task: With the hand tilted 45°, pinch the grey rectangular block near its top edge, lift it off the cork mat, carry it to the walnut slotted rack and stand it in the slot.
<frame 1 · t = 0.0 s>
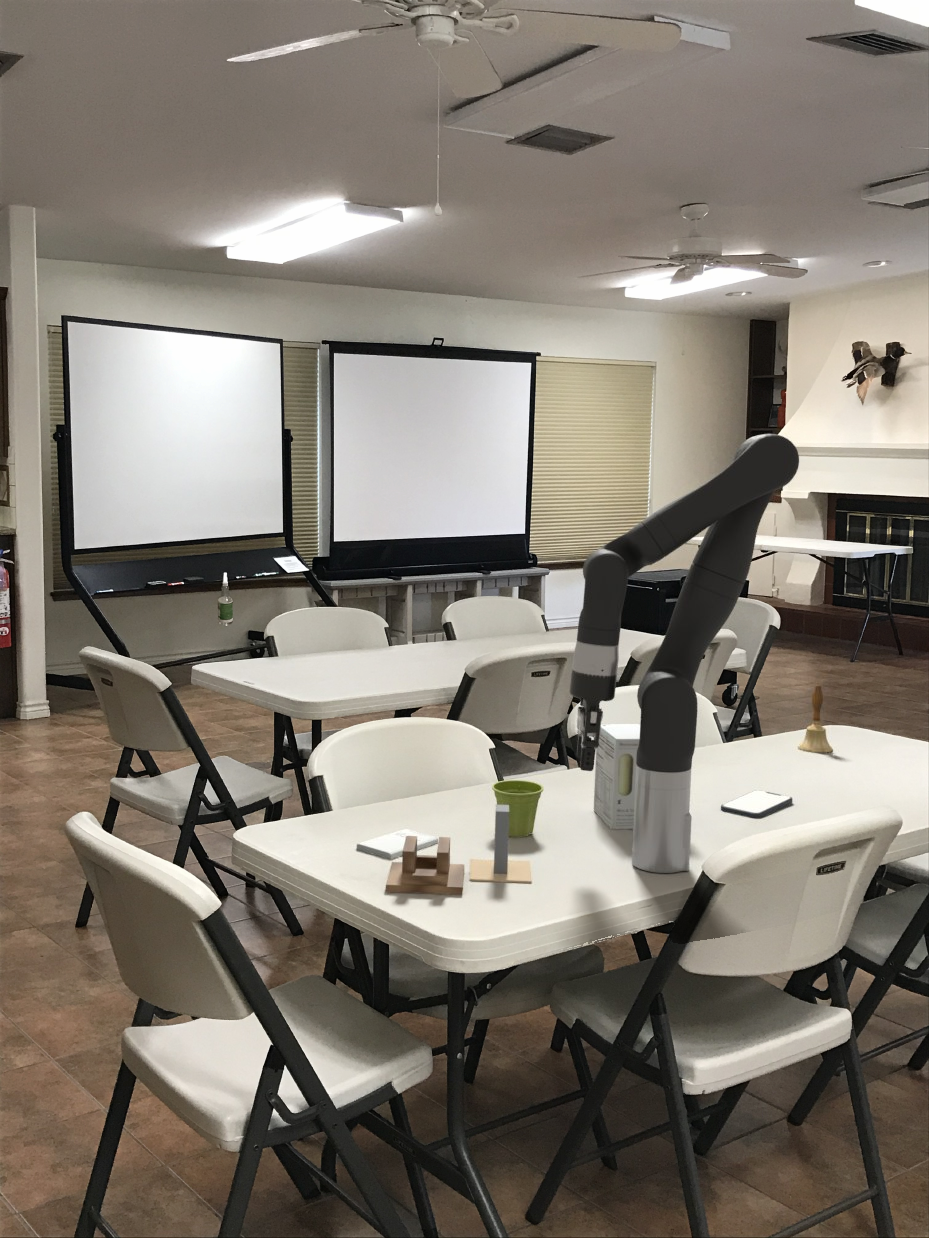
hand: (584, 764, 201), 17 cm above the table, tool pointing down, fingers open, 8 cm apart
phone case: (756, 809, 241), on the table
grey rectangular block: (500, 869, 197), resting on cork mat
rack: (426, 881, 191), on the table
supplement box: (634, 820, 229), on the table
plant pot: (516, 833, 219), on the table
hand bell: (815, 749, 294), on the table
cork mat: (500, 871, 197), on the table
external hard drive: (397, 849, 210), on the table
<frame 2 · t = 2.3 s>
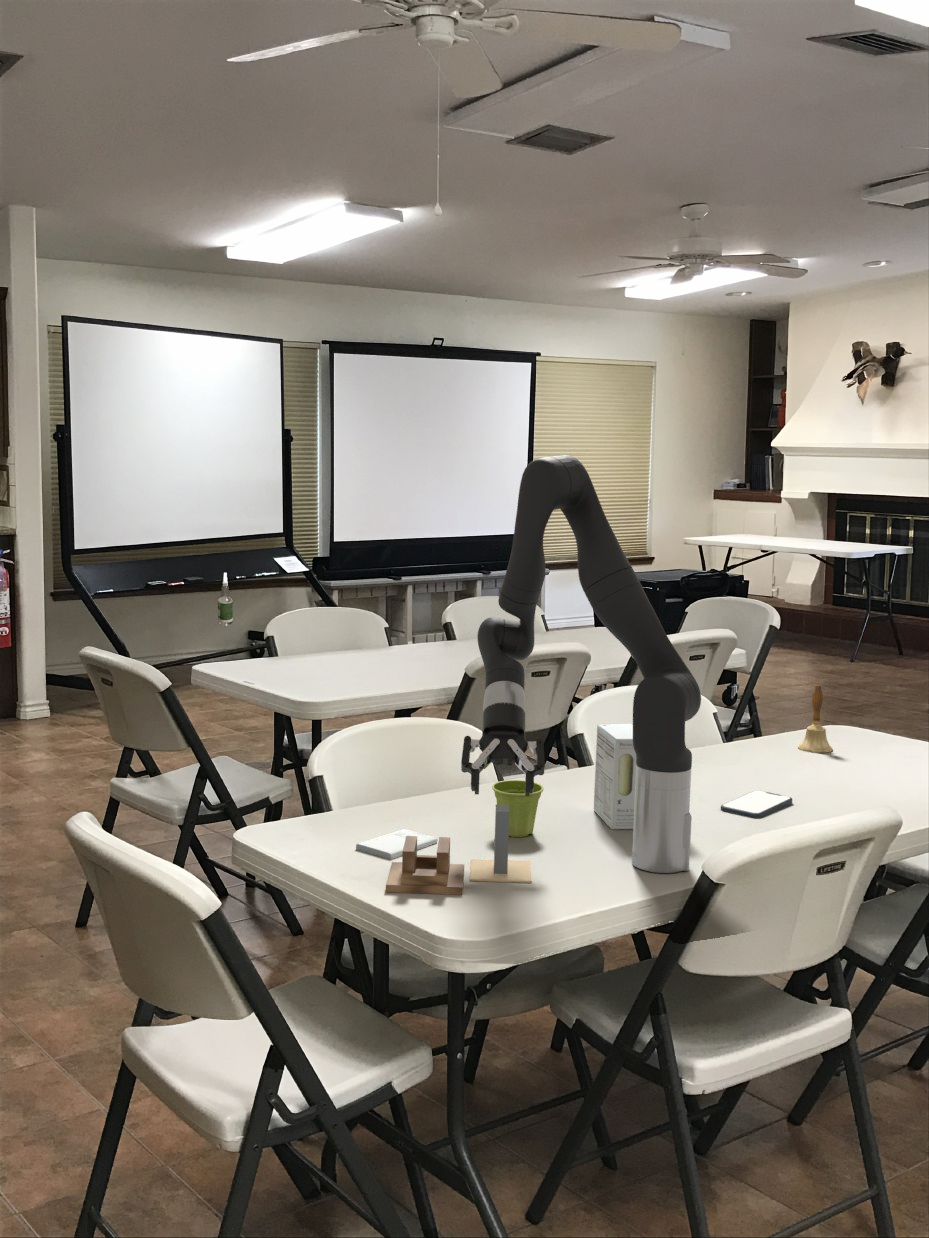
hand: (502, 793, 201), 12 cm above the table, tool tilted 45°, fingers open, 8 cm apart
nothing on the table moved.
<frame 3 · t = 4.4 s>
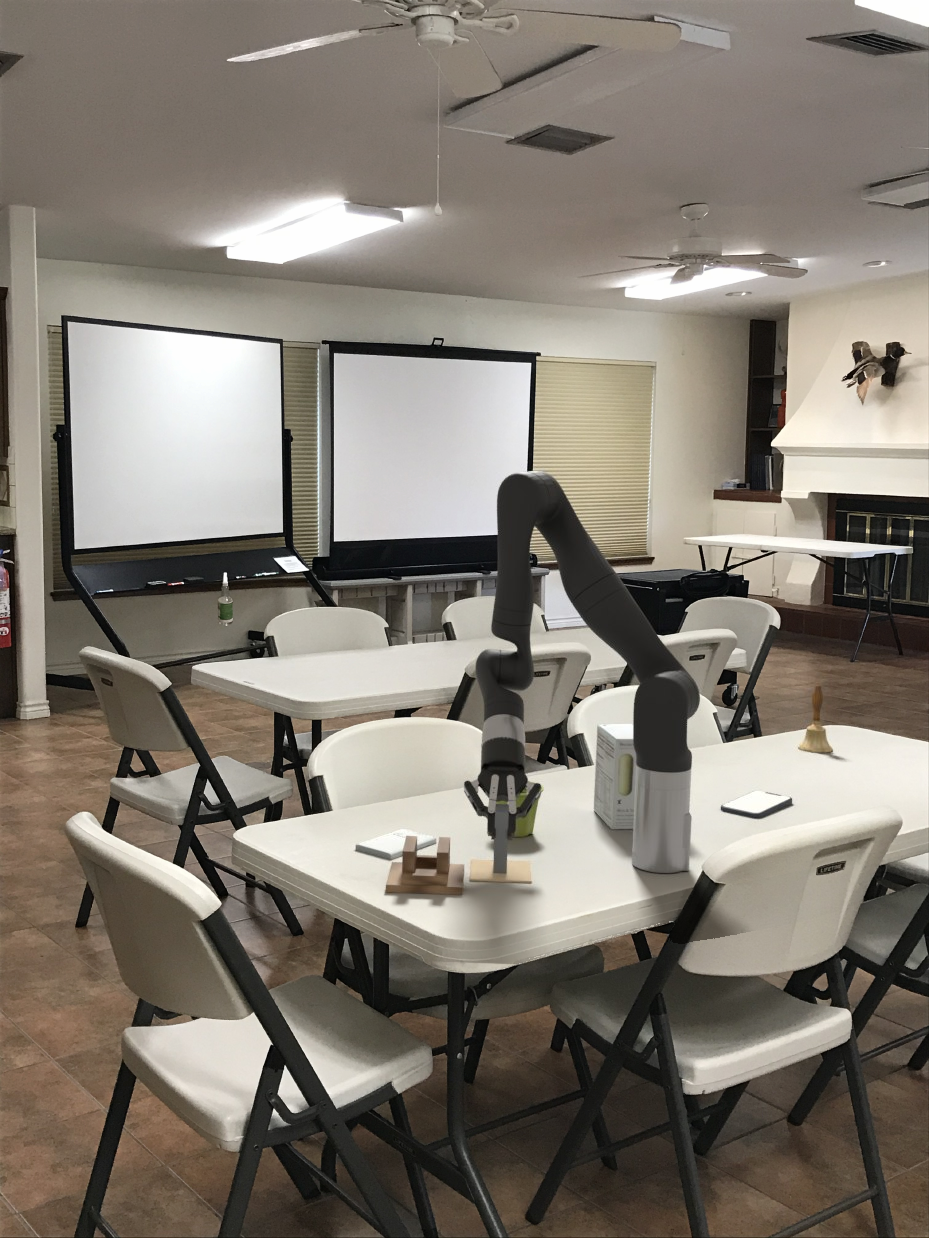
hand: (501, 837, 194), 7 cm above the table, tool tilted 45°, fingers closed on grey rectangular block, 2 cm apart
grey rectangular block: (499, 868, 197), resting on cork mat, touching gripper
everything else where it was.
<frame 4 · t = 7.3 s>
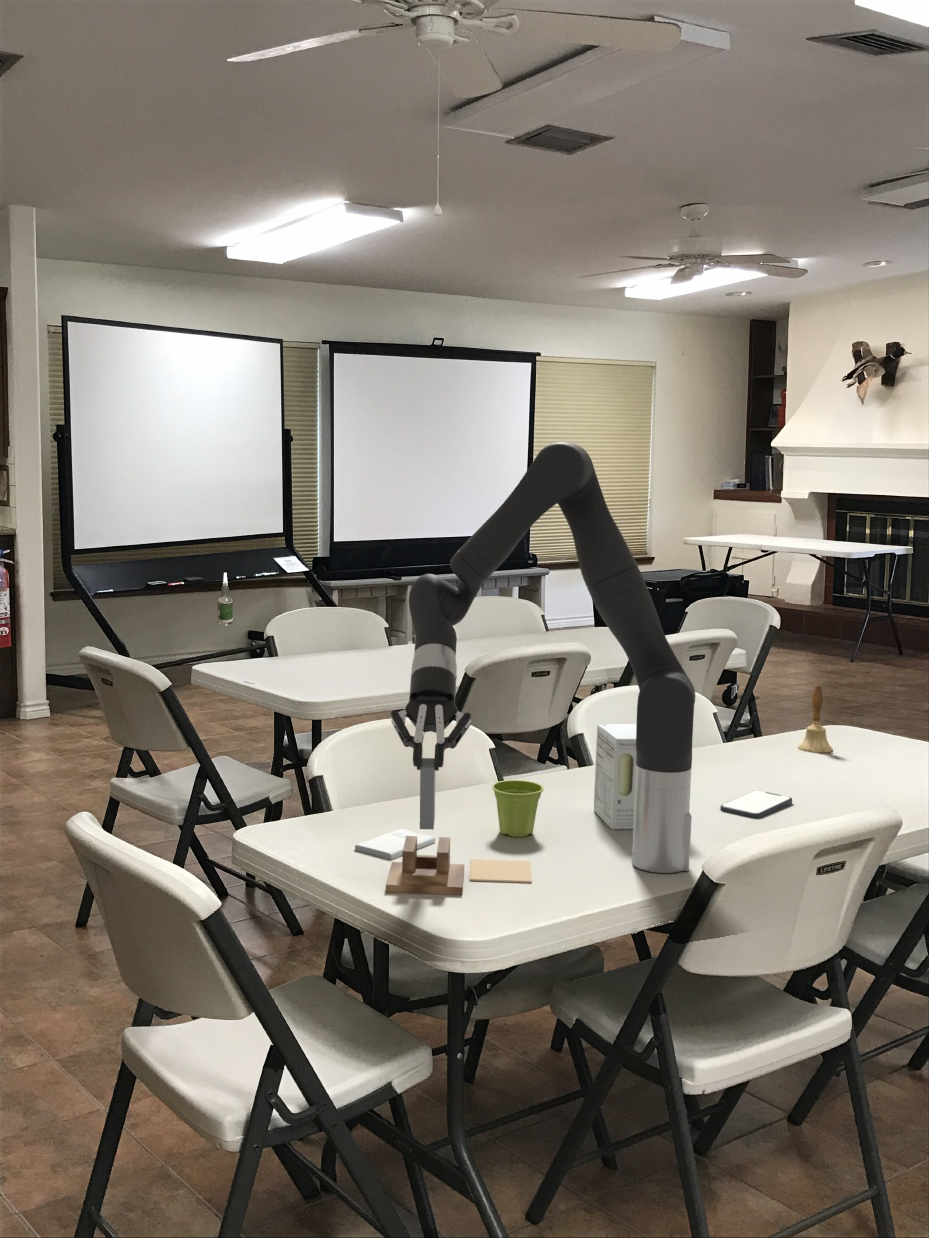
hand: (427, 767, 187), 19 cm above the table, tool tilted 45°, fingers closed on grey rectangular block
grey rectangular block: (427, 823, 191), point 9 cm above the table, tilted 10°, touching gripper
everything else where it was.
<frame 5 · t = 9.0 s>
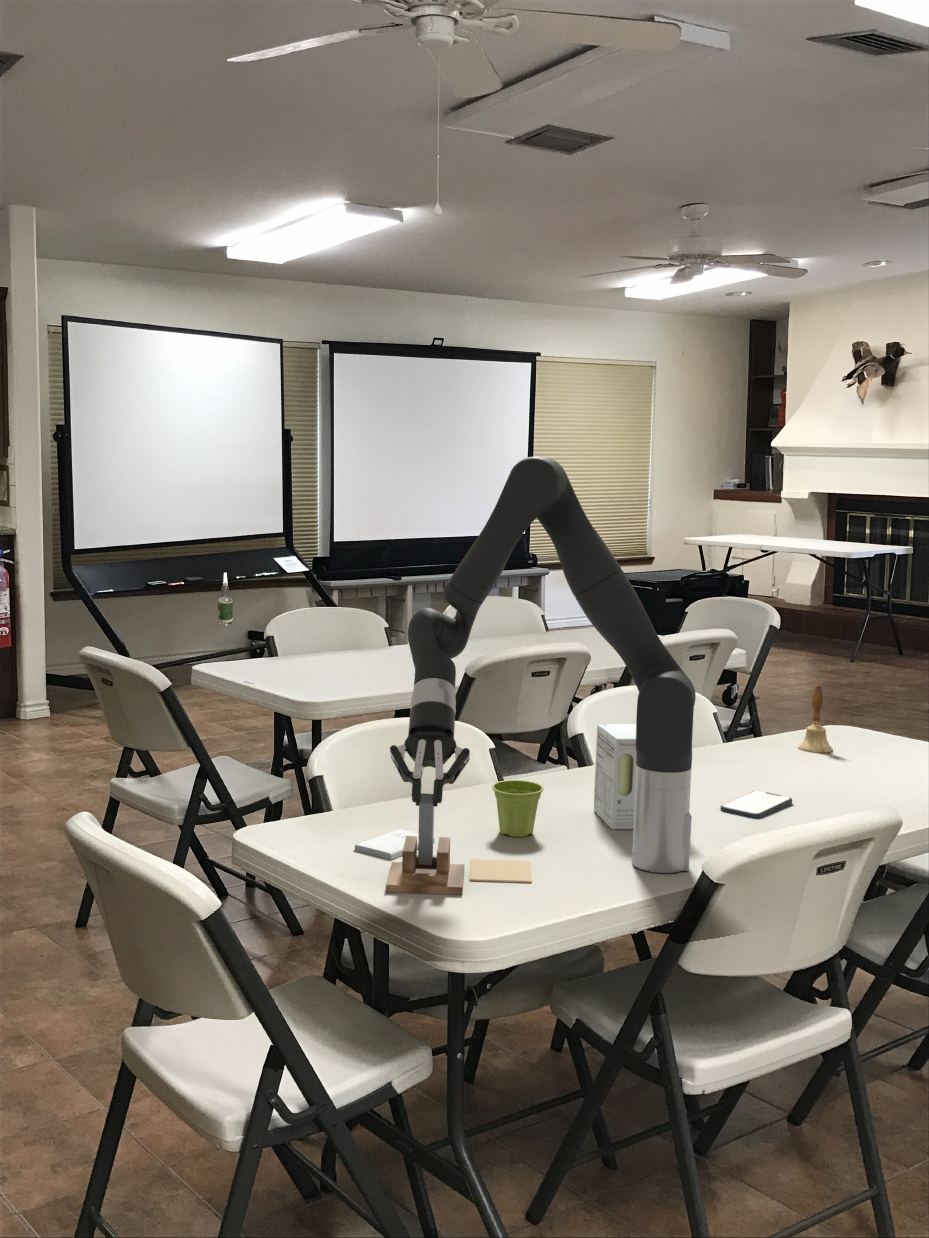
hand: (426, 803, 188), 13 cm above the table, tool tilted 45°, fingers closed on grey rectangular block
grey rectangular block: (425, 858, 192), point 4 cm above the table, tilted 10°, touching gripper
everything else where it was.
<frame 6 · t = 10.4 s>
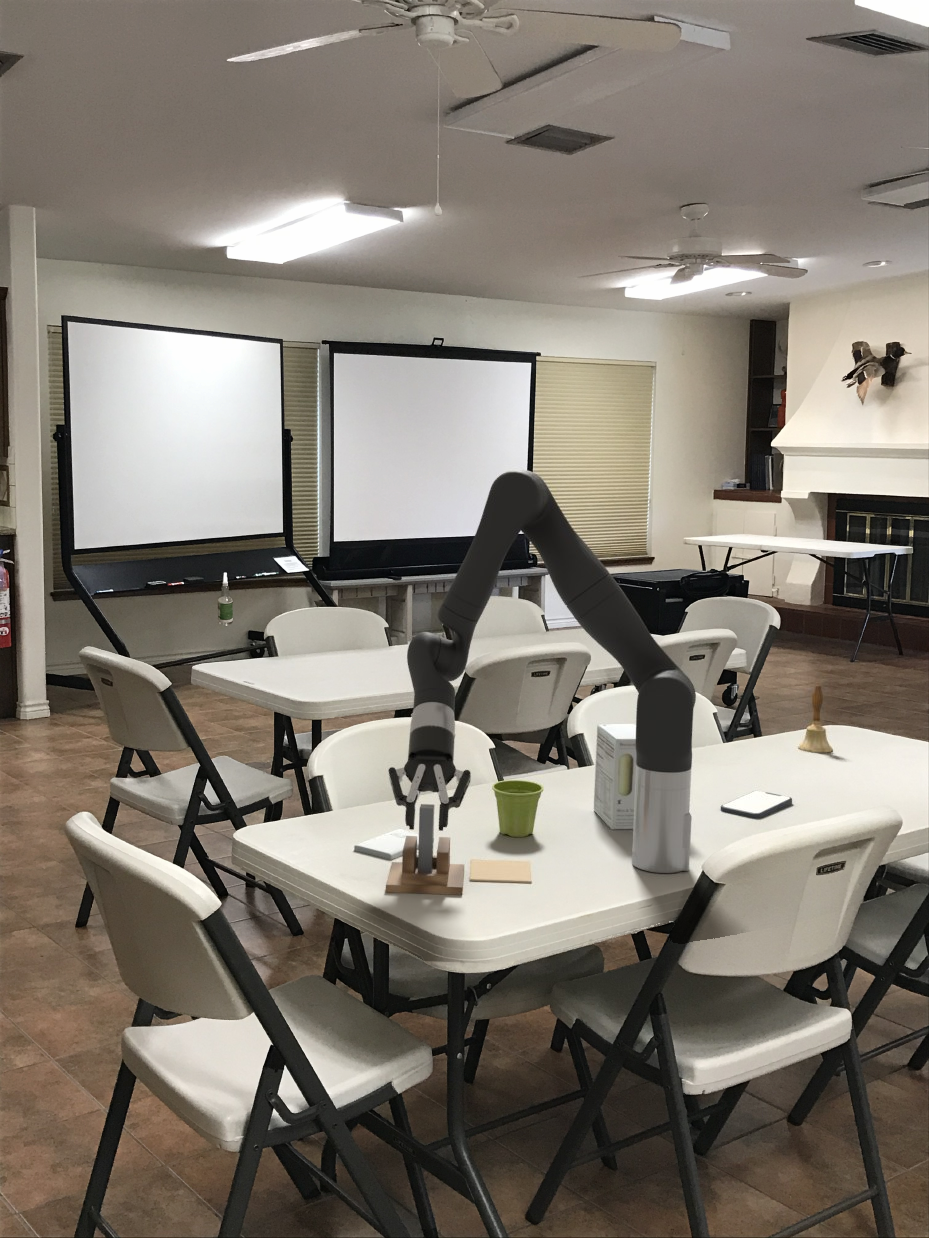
hand: (426, 827, 188), 10 cm above the table, tool tilted 45°, fingers open, 4 cm apart
grey rectangular block: (425, 871, 192), point 1 cm above the table, tilted 7°, touching rack
everything else where it was.
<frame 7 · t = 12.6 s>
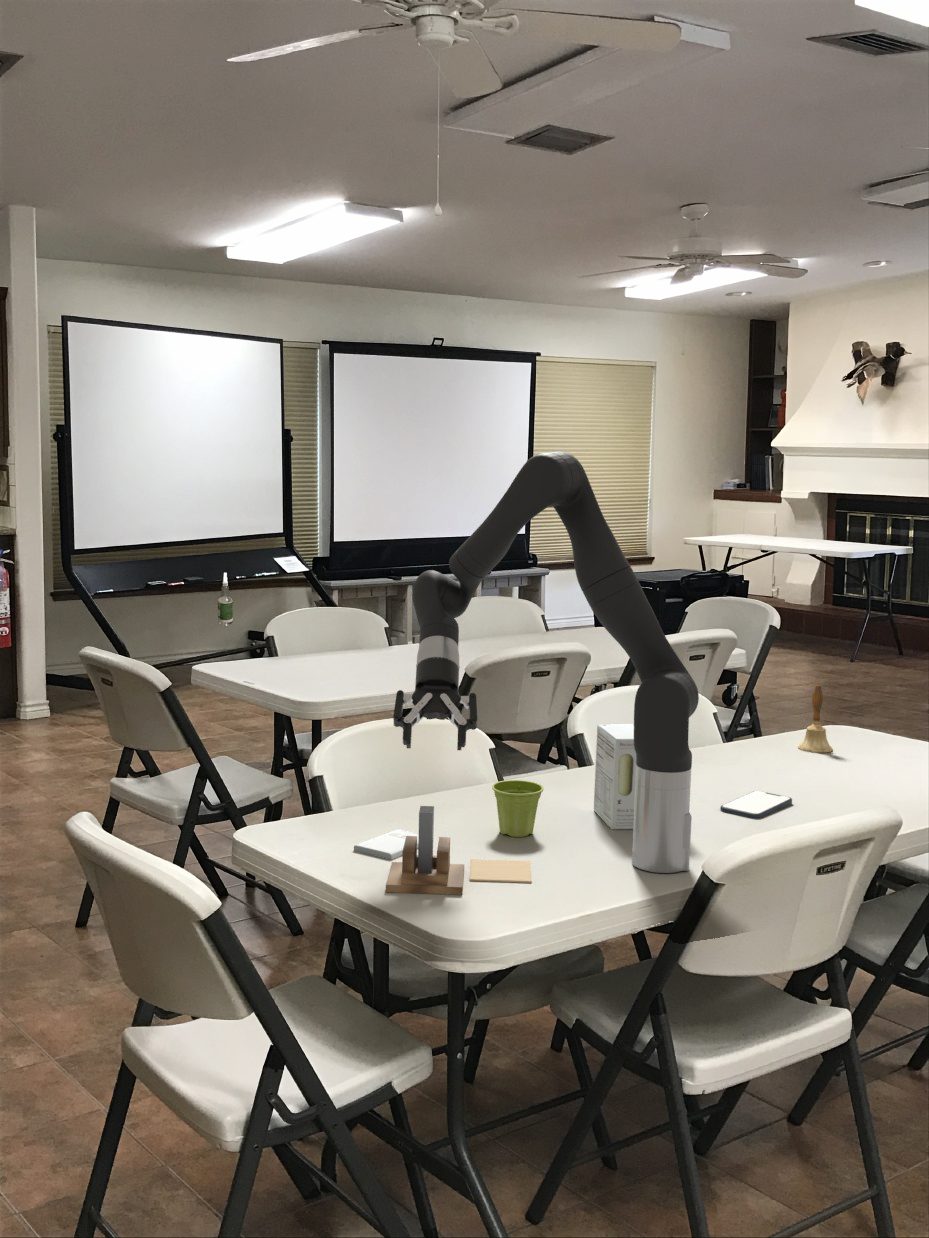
hand: (434, 747, 200), 20 cm above the table, tool tilted 45°, fingers open, 8 cm apart
grey rectangular block: (425, 872, 192), point 1 cm above the table, touching rack
everything else where it was.
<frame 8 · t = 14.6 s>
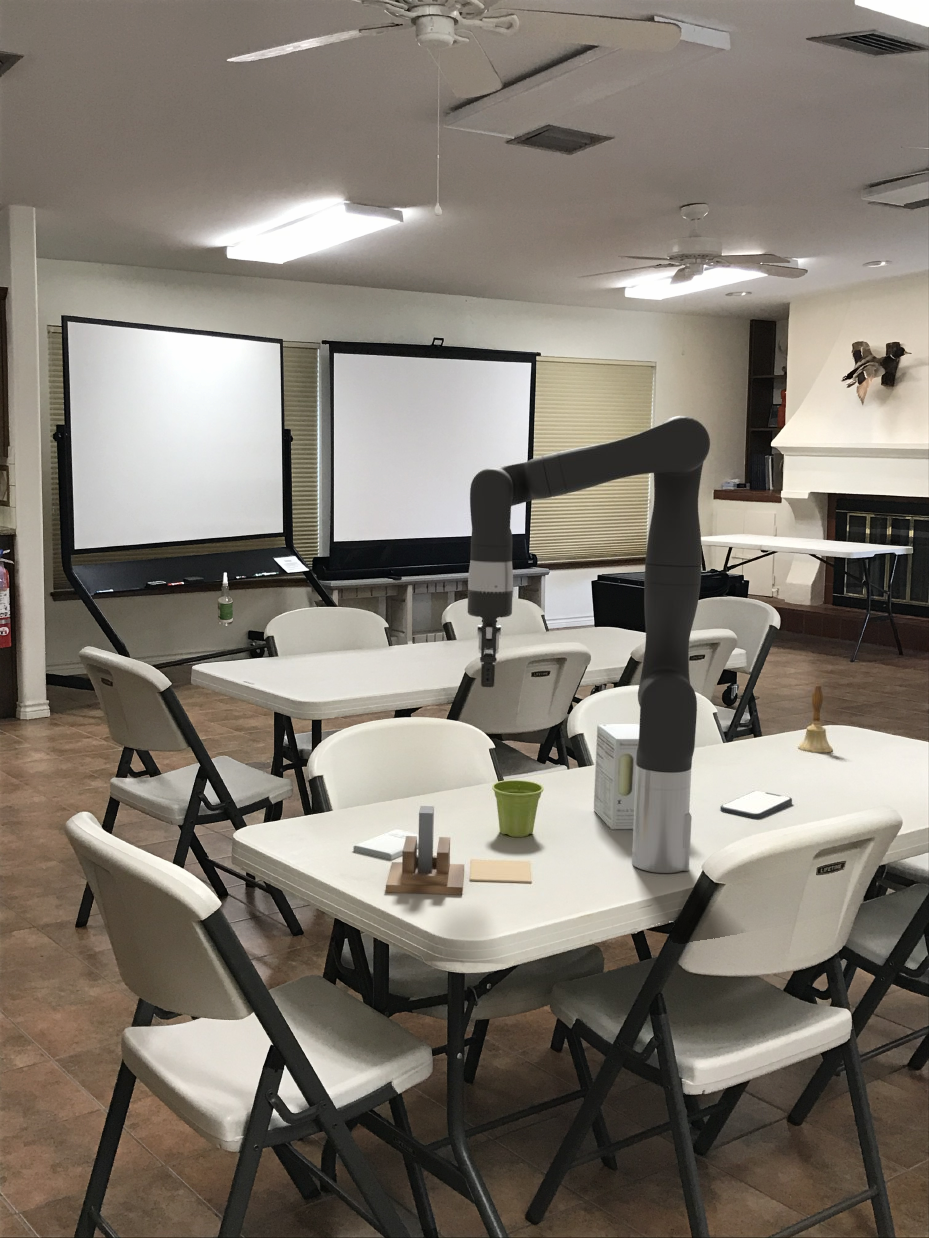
hand: (487, 682, 202), 30 cm above the table, tool pointing down, fingers open, 8 cm apart
nothing on the table moved.
at the end: grey rectangular block 0.7 cm off-centre on the rack, point 1.2 cm above the rack's base; grey rectangular block tilted 0°; the gripper is holding nothing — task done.
